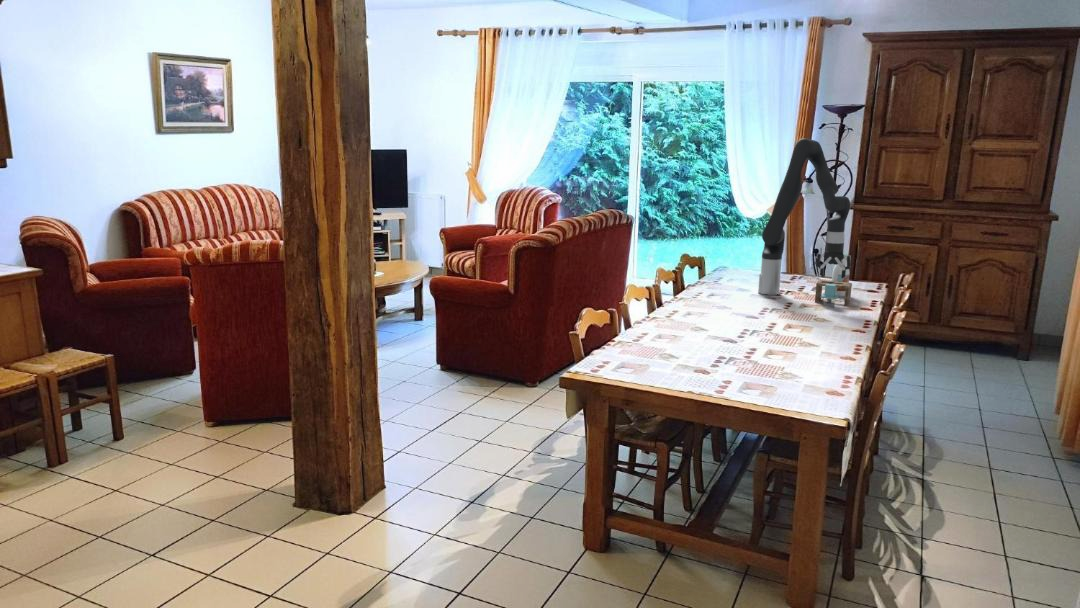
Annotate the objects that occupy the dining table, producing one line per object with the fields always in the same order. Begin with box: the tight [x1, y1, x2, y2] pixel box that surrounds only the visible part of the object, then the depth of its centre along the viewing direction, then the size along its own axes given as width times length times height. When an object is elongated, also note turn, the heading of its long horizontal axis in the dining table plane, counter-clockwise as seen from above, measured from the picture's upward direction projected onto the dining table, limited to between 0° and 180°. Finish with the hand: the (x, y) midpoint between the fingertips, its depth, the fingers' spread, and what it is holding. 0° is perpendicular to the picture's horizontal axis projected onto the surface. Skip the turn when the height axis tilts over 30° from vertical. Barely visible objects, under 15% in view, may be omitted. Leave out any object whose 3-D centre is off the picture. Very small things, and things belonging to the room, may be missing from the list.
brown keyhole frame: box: [814, 279, 853, 307], centre depth 354 cm, size 14×9×9 cm, turn 60°
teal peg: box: [821, 284, 840, 308], centre depth 346 cm, size 7×7×10 cm
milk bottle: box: [831, 253, 850, 298], centre depth 368 cm, size 8×8×20 cm
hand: (832, 277), depth 345 cm, fingers open, 8 cm apart
